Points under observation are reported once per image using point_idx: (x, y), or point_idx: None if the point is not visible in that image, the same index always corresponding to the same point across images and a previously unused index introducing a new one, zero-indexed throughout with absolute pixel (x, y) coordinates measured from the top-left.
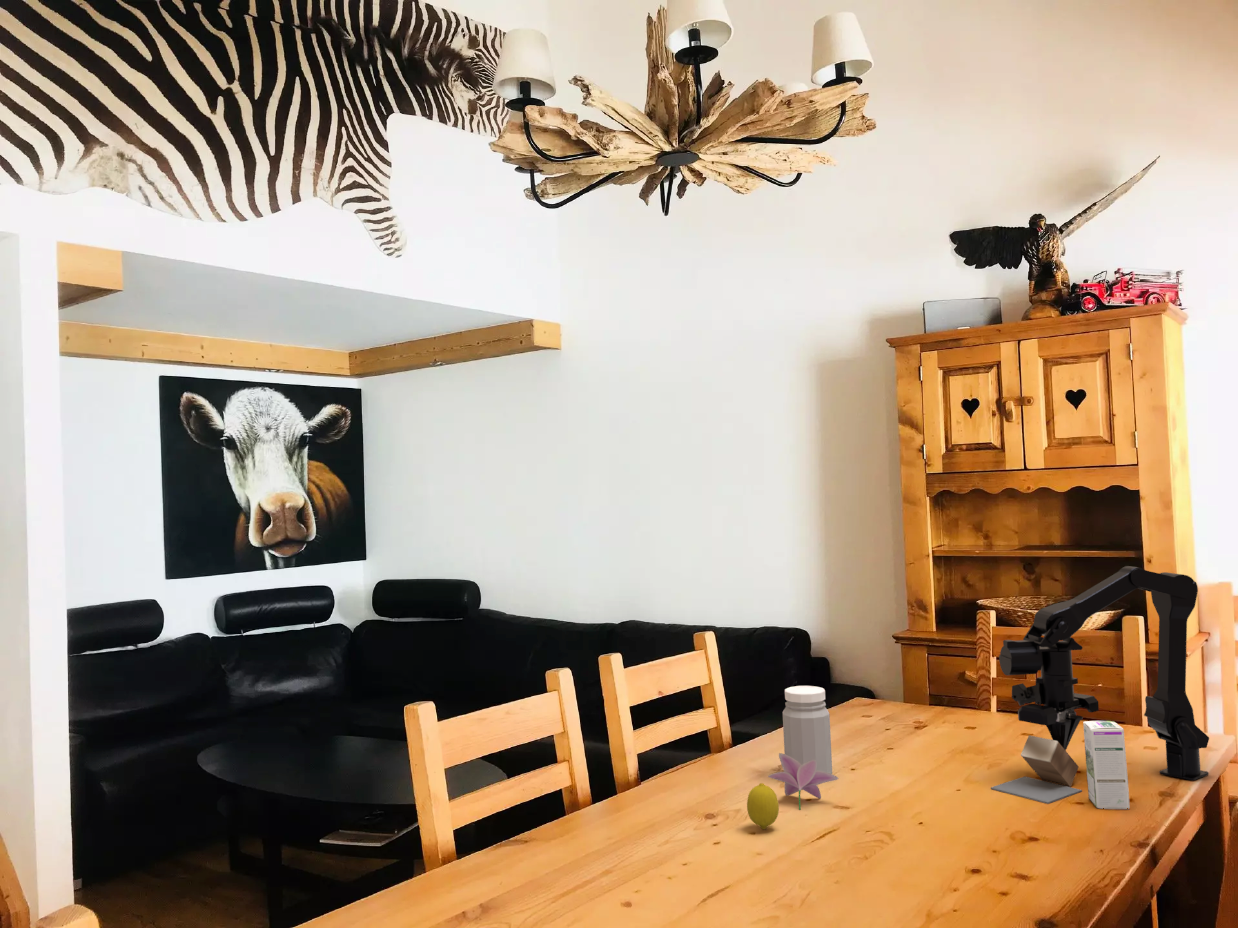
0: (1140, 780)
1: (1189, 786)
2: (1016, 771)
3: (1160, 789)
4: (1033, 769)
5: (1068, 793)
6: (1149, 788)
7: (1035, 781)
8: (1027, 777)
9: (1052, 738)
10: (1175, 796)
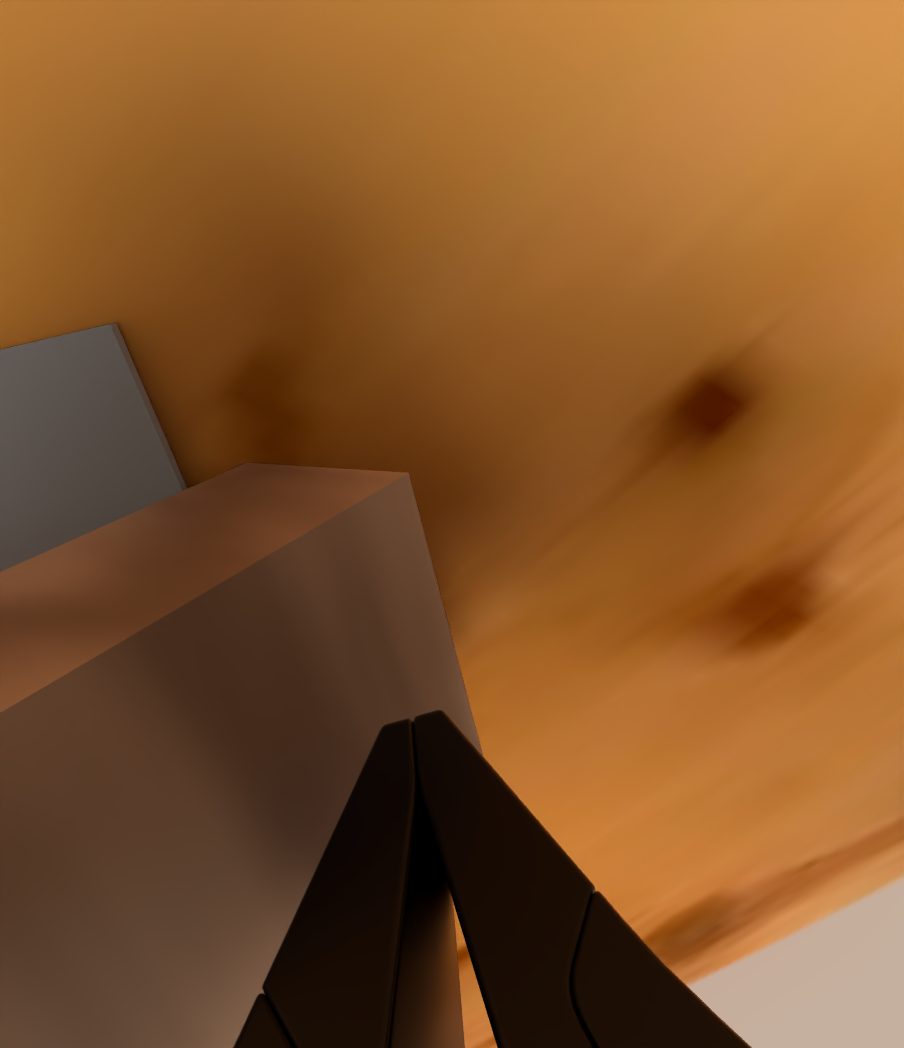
0: (827, 741)
1: (891, 880)
2: (183, 47)
3: (742, 880)
4: (43, 558)
5: None
6: (717, 855)
7: (108, 520)
8: (114, 375)
9: (293, 926)
10: (688, 965)
